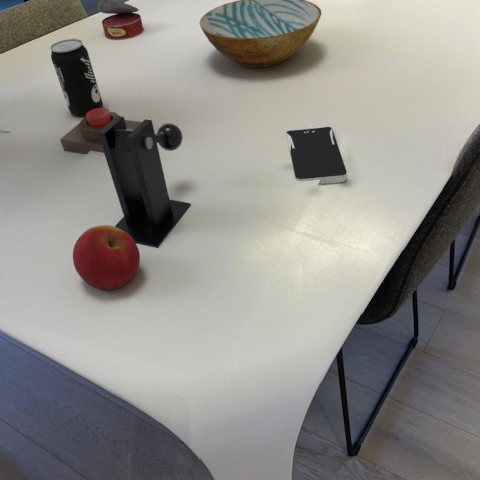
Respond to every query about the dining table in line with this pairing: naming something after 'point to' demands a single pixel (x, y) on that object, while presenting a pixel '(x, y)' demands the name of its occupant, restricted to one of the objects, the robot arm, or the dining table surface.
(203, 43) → the dining table surface
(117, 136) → the black ball lever
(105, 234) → the apple
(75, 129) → the button block
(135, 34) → the canned food
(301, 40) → the bowl
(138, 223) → the black lever stand
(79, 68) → the beverage can
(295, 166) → the smartphone
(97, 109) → the button
